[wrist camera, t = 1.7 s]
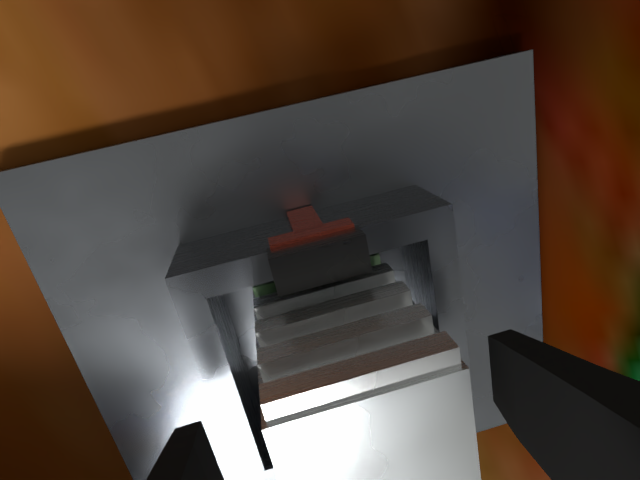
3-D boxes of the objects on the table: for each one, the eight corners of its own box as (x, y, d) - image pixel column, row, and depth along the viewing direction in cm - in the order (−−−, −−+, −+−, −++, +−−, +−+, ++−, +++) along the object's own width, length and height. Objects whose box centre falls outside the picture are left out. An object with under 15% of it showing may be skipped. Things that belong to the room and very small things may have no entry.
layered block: (369, 238, 14) (467, 348, 8) (390, 352, 16) (485, 516, 10) (248, 270, 14) (255, 410, 8) (281, 383, 15) (309, 574, 9)
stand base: (520, 51, 14) (625, 35, 10) (536, 401, 19) (610, 478, 15) (-4, 171, 12) (-110, 206, 9) (161, 517, 17) (139, 635, 13)
